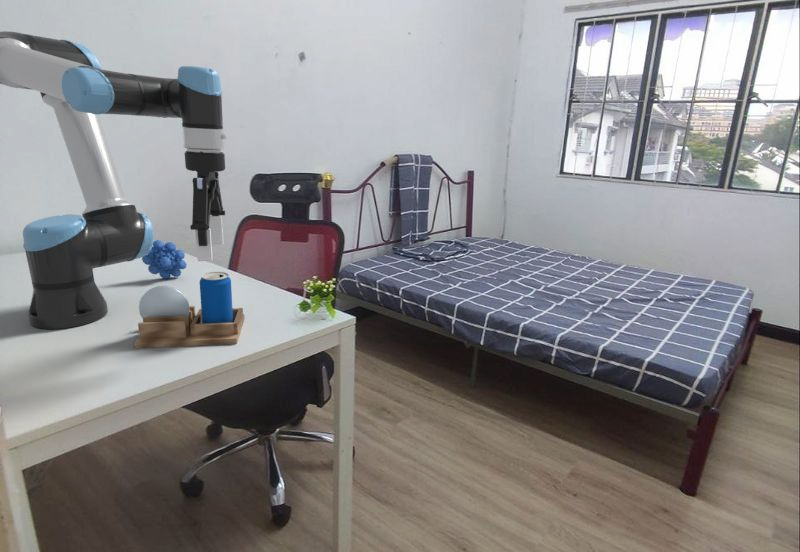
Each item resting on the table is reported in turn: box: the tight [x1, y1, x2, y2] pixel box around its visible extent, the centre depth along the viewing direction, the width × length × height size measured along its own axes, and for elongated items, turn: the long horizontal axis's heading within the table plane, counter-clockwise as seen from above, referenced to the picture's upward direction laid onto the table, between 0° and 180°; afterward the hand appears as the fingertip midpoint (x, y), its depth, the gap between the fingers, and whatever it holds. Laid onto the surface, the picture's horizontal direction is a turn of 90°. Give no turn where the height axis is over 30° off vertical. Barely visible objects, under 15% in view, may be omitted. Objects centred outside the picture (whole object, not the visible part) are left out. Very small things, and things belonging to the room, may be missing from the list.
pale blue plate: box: [138, 285, 191, 319], centre depth 101 cm, size 10×1×10 cm, turn 101°
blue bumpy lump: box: [141, 239, 188, 280], centre depth 137 cm, size 12×7×12 cm, turn 120°
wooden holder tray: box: [134, 305, 246, 349], centre depth 104 cm, size 20×14×5 cm
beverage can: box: [199, 271, 233, 324], centre depth 104 cm, size 6×6×12 cm
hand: (211, 252), depth 100 cm, fingers open, 13 cm apart
